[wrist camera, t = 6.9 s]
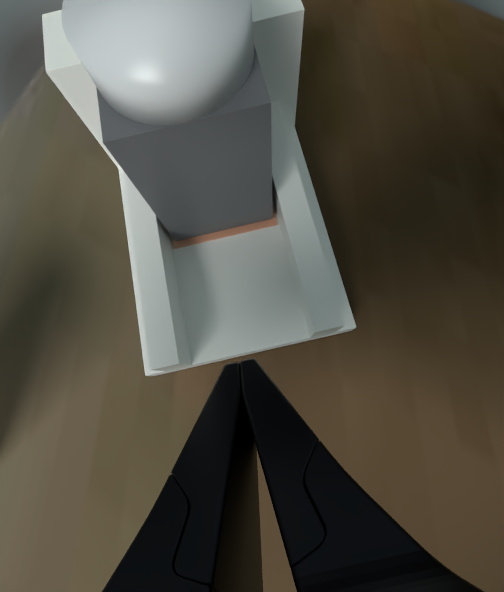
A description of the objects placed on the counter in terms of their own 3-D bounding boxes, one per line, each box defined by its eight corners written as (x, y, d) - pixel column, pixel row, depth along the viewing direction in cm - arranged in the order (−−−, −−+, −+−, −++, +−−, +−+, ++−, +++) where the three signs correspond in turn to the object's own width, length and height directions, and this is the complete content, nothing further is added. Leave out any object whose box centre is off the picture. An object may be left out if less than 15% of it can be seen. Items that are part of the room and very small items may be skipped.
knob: (272, 218, 16) (270, 47, 8) (175, 241, 16) (68, 95, 8) (251, 136, 17) (229, -87, 9) (161, 158, 17) (55, -45, 9)
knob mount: (350, 331, 16) (453, 269, 7) (154, 375, 16) (-4, 375, 7) (281, 101, 19) (287, -139, 10) (122, 139, 20) (-10, -66, 10)
